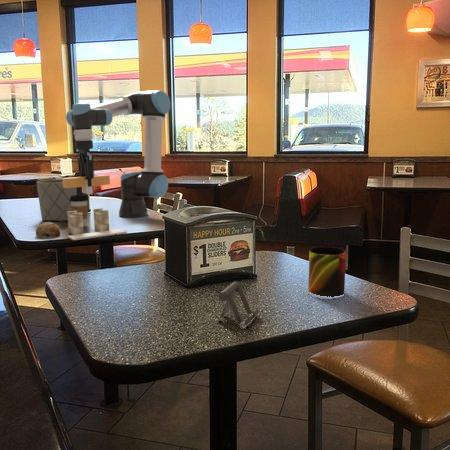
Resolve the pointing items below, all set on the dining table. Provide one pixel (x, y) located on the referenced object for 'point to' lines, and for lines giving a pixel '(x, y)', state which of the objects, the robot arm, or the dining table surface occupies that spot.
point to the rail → (80, 181)
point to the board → (96, 234)
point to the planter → (54, 199)
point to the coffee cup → (80, 206)
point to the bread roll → (47, 230)
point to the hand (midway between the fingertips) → (87, 193)
